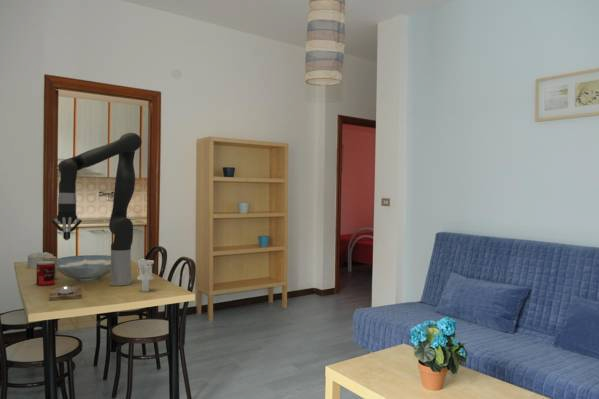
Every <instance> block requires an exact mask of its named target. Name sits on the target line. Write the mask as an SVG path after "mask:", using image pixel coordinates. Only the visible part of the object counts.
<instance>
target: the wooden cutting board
mask: <svg viewBox="0 0 599 399" xmlns="http://www.w3.org/2000/svg"><path fill="white" fill-rule="evenodd" d="M61 287H62V286H61ZM61 287H51V288H50V292H49V298H48V300H49V301H50V302H53V301H63V300H64V301H65V300H77V299H82V288H81V286H79V285H78V286H70V287H71V289H72V293H71V295H60V294H59V290H60V288H61Z"/></svg>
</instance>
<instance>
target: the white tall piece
mask: <svg viewBox="0 0 599 399" xmlns="http://www.w3.org/2000/svg"><path fill="white" fill-rule="evenodd" d="M154 262H155V261H154V260H151V259H145V258H141V259H138V261H137V265H138V268H139V270H138V274H139V275H138V276H137V280H138V281H141V292H145V293H146V292H149V290H150V285H149V284H150V281H151V280H154V275H152V274H153V266H152V265H154Z"/></svg>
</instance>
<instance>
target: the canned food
mask: <svg viewBox="0 0 599 399" xmlns="http://www.w3.org/2000/svg"><path fill="white" fill-rule="evenodd" d="M55 280H56V279H55V262H54V261H41V262H37V269H36V286H38V287H47V286H48V287H50V286H54V285H55V283H56V281H55Z"/></svg>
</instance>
